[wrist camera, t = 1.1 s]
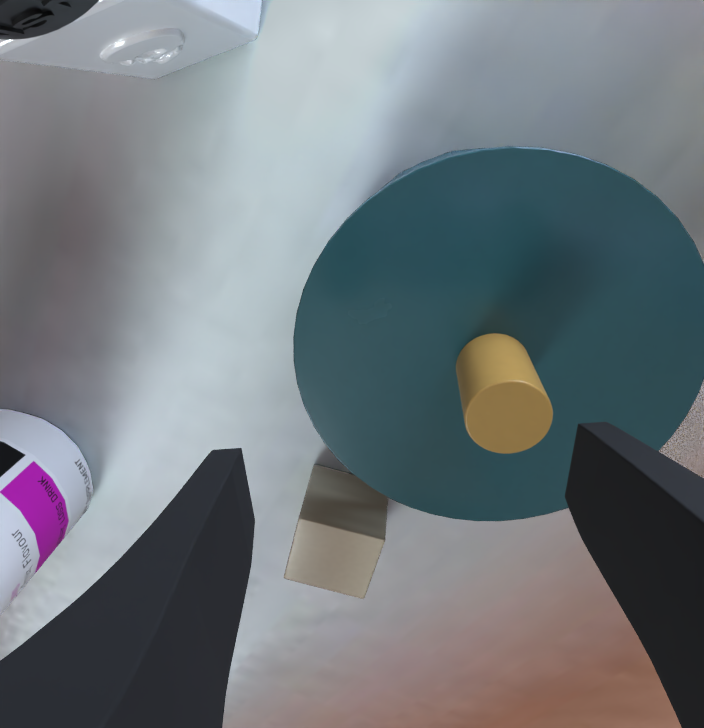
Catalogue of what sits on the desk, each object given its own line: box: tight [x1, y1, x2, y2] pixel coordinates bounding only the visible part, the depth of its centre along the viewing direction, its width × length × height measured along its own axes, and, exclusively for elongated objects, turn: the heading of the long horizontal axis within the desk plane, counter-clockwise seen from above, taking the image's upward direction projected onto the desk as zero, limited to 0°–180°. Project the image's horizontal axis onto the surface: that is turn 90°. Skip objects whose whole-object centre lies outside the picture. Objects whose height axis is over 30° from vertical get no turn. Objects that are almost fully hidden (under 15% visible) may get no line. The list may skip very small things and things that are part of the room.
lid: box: [293, 146, 704, 521], centre depth 17 cm, size 14×14×4 cm
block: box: [284, 465, 388, 599], centre depth 27 cm, size 4×4×4 cm
